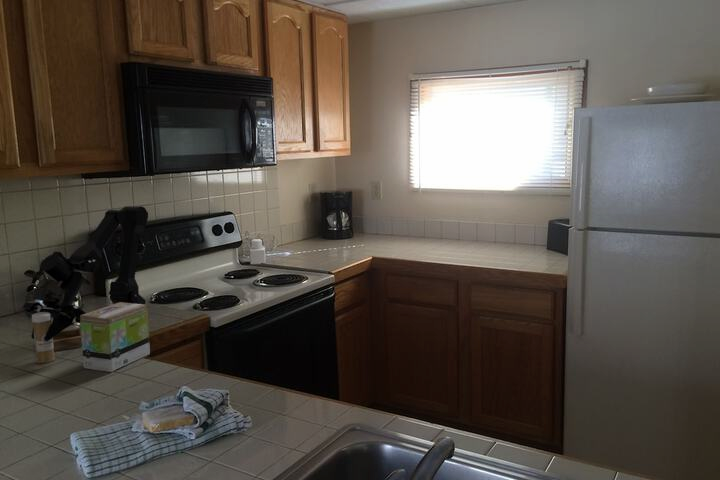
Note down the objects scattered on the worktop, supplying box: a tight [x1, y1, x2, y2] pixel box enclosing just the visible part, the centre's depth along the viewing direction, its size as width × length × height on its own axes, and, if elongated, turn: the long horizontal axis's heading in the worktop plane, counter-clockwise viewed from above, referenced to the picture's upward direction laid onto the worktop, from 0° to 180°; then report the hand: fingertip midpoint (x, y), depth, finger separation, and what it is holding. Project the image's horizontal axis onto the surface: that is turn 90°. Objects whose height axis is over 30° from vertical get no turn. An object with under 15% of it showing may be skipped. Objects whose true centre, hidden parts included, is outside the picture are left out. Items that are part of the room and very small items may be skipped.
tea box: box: [79, 302, 151, 373], centre depth 165 cm, size 15×10×15 cm
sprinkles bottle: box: [31, 312, 56, 364], centre depth 167 cm, size 5×5×13 cm
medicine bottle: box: [249, 237, 267, 265], centre depth 301 cm, size 7×7×12 cm
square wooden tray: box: [53, 327, 82, 352], centre depth 182 cm, size 10×10×3 cm
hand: (39, 339), depth 166 cm, fingers closed on sprinkles bottle, 4 cm apart
